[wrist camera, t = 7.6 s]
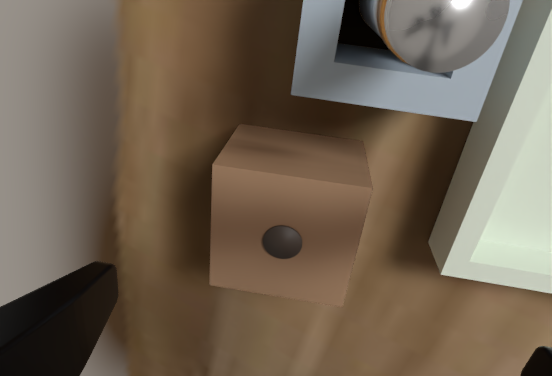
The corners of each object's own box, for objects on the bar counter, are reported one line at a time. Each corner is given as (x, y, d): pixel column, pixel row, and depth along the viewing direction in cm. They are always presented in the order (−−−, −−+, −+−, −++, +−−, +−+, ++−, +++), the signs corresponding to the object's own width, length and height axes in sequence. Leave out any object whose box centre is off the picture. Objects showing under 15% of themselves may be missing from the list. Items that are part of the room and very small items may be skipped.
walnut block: (340, 241, 21) (342, 309, 17) (234, 224, 21) (208, 286, 17) (362, 140, 18) (373, 189, 14) (240, 122, 19) (211, 165, 14)
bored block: (437, 86, 16) (476, 121, 12) (301, 67, 17) (290, 94, 12) (490, -81, 14) (566, -114, 9) (324, -100, 14) (321, -140, 10)
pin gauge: (407, 35, 16) (485, 82, 8) (352, 27, 16) (373, 67, 8) (423, -29, 15) (534, -48, 7) (364, -36, 15) (403, -64, 7)
